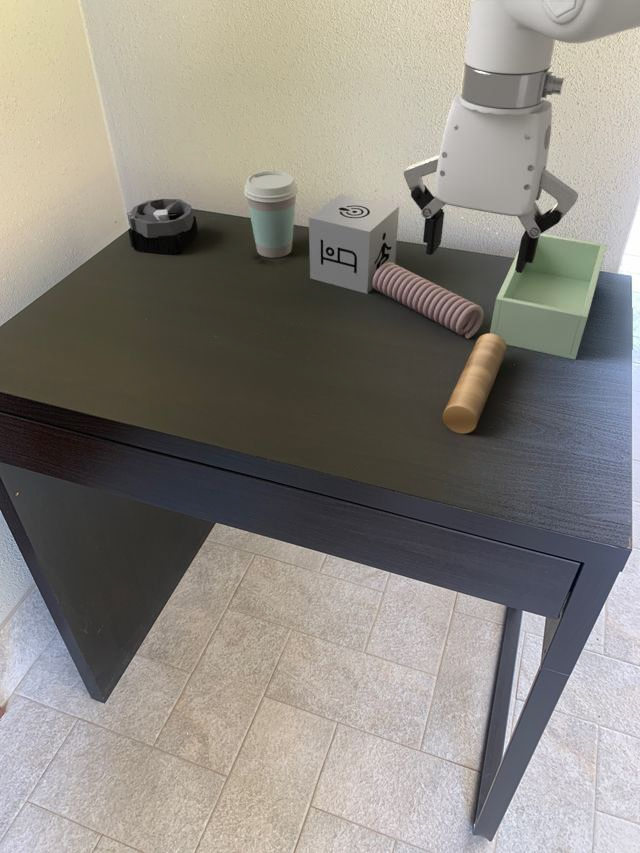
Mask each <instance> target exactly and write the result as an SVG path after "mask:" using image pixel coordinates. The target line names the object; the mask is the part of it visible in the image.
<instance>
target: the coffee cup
mask: <svg viewBox="0 0 640 853" xmlns="http://www.w3.org/2000/svg"><path fill="white" fill-rule="evenodd" d="M298 192H299V188H298V184H297V183H296V180H295V177H294V176H293V175H292V174H291V173H289V172H286V171H283V170H275V169H274V170H273V169H272V170H271V169H269V170H261V171H256V172H254V173H251V174H250V175H248V176H247V178H246V181H245V185H244V188H243V195H244V196H245V197H246V200H247V206H248V207H247V208H248V211H249V216H250V221H251V226H252V233H253V238H254V242H255V248H256V251H257V254H259V255H260V256H262V257H264V258H271V259H275V258H277V259H278V258H283V257H285V256H288V255H289V254H291V252H292V249H293V239H294V226H295V215H296V214H295V212H296V201H297V200H296V199H297V194H298Z"/></svg>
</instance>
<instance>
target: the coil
mask: <svg viewBox="0 0 640 853" xmlns="http://www.w3.org/2000/svg"><path fill="white" fill-rule="evenodd" d="M379 276H380V277H379ZM373 287H374V288H373V289H374V290H375V291H376V292H379V293H381V294H383V295H385V296H386V297H389V298H390V299H392V300H394V301H396V302H398V303H400V304H401V305H404V306H405V307H408V308H409V309H410V310H413V311H414V312H416V313H418V314H420V315H422V316H424V317H425V318H427V319H428V318H429V319H430V320H431V321H434V322H435V323H437V324H440V325H441V326H442V327H445V328H446V329H448V330H451V331H452V333H457V335H458V336H464V337H465V339H471V338H473V337H474V336H475V335H476V334H477V332H478V331H479V330H480V328H481V327H482V324H483V320H484V310H483V308H482V306H481V305H479V304H476V303H475V302H473V301H470V300H468V299H466V298H464V297H463V296H460V295H458V294H457V293H453V292H452V291H451V290H447V289H446V288H445V287H442V286H440V285H438V284H436V283H435V282H431V281H430V280H428V279H426V278H424V277H421V276H420V275H418V274H415V273H414V272H411V271H410V270H408V269H405V268H404V267H402V266H400V265H398V264H396V263H395V264H394V263H391V262H388V263H385V264H383V265H382V266H380V267H379V268H378V270H377V271H376V273H375V275H374V278H373Z"/></svg>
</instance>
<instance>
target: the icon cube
mask: <svg viewBox="0 0 640 853" xmlns="http://www.w3.org/2000/svg"><path fill="white" fill-rule="evenodd" d="M399 214H400V206H399V205H396V204H391V203H386V202H381V201H378V200H377V201H376V200H373V199H368V198H364V197H359V196H353V195H349V194H346V193H345V194H344V193H340V194H338V195H337V196H335V198H333V199H332V200H330V201H329V202H327V203H326V204H325V205H324V206H322V207H321V208H320V209H318V210H316V212H314V213H313V214H311V216H309V217H308V241H309V242H308V244H309V245H308V246H309V278H310V279H311V280H314V281H318V282H322V283H325V284H329V285H333V286H336V287H341V288H344V289H348V290H351V291H355V292H358V293H362V294H366V295H368V294H369V293H370V292H371V291H372V290H373V289H374V287H373V278H374V275H375V273H376V271H377V270H378V268H379V267H380V266H382V265H383V264H385V263H388V262H391V263H394V264H395V265H396V259H397V258H396V257H397V241H398V228H399ZM379 277H380V276H379Z"/></svg>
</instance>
